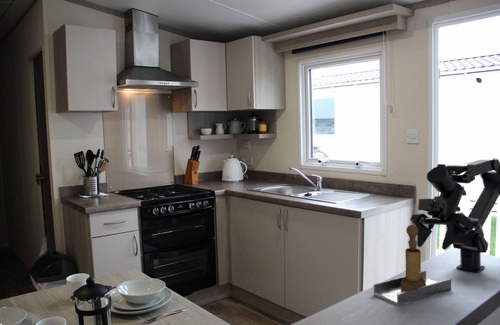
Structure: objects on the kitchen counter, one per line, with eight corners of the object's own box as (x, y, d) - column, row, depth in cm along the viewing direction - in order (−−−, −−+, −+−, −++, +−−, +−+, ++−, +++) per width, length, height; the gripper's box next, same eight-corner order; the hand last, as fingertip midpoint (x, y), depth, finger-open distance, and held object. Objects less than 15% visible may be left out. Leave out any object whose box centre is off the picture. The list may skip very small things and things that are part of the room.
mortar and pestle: (424, 295, 114) (422, 229, 113) (399, 291, 118) (397, 227, 116) (427, 286, 120) (426, 223, 119) (403, 283, 123) (402, 222, 122)
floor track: (424, 280, 127) (424, 270, 127) (451, 289, 119) (451, 279, 119) (373, 294, 118) (373, 284, 118) (398, 305, 110) (398, 294, 110)
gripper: (407, 188, 133) (388, 232, 129) (455, 184, 116) (436, 235, 112) (431, 206, 136) (414, 250, 132) (483, 205, 119) (465, 255, 115)
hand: (430, 247), depth 122 cm, fingers open, 9 cm apart
